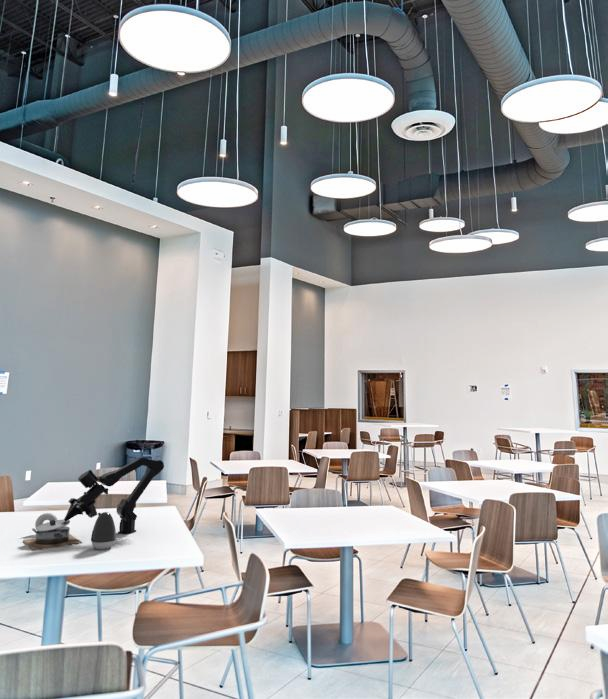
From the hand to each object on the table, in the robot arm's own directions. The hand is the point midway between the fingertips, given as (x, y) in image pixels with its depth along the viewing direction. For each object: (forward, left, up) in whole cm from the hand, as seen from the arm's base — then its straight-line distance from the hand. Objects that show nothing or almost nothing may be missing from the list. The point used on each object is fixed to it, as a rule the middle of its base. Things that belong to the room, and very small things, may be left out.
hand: (64, 520), depth 233 cm
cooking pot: (+3, +4, -9) cm, 10 cm away
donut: (+18, -9, -9) cm, 22 cm away
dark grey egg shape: (-25, +6, -9) cm, 28 cm away
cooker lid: (+3, +4, -2) cm, 6 cm away
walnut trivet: (+3, +4, -9) cm, 10 cm away
